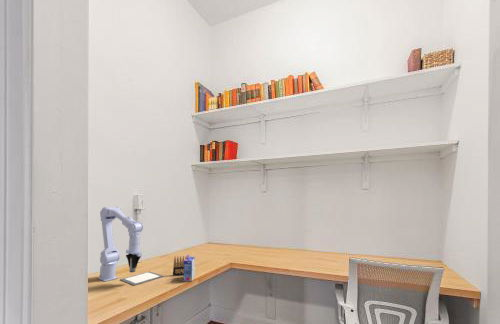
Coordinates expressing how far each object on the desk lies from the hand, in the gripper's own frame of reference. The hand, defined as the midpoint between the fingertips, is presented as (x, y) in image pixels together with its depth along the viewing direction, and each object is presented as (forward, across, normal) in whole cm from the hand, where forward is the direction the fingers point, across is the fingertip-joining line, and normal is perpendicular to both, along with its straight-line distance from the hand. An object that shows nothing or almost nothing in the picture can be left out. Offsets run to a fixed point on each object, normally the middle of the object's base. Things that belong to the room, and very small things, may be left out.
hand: (132, 267), depth 146 cm
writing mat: (+9, -4, +9) cm, 14 cm away
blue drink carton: (+10, +20, +26) cm, 34 cm away
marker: (+2, 0, 0) cm, 2 cm away
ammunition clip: (+10, +10, +28) cm, 31 cm away
